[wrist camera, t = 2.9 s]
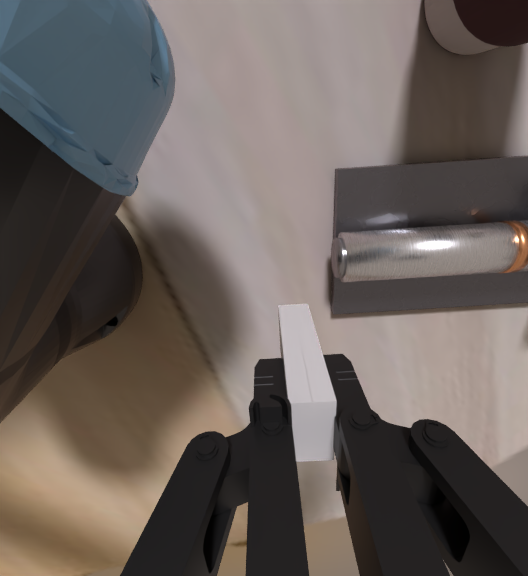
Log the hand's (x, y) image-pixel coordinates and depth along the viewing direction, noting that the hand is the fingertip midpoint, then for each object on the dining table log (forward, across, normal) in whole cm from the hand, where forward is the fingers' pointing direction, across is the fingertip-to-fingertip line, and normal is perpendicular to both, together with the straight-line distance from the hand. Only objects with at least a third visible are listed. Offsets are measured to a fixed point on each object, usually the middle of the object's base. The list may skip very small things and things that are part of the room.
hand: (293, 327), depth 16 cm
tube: (+12, +14, 0) cm, 18 cm away
